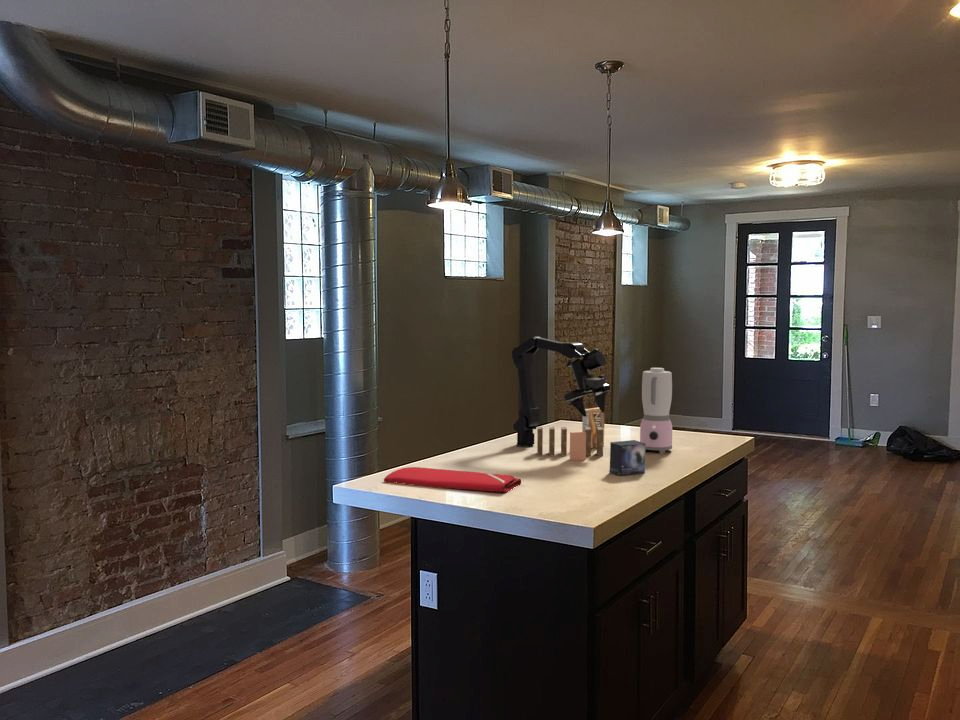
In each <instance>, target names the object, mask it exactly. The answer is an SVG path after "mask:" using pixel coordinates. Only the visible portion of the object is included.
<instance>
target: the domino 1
mask: <svg viewBox="0 0 960 720" xmlns="http://www.w3.org/2000/svg"><path fill="white" fill-rule="evenodd" d="M536 430H537V431H536V432H537V434H536V435H537V446H536V447H537V448H536V449H537V450H536V451H537V456H543V448H544V447H543V444H544V443H543V442H544V440H543V438H544V437H543V432H544V431H543V426H537V428H536Z"/></svg>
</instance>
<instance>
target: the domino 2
mask: <svg viewBox="0 0 960 720" xmlns="http://www.w3.org/2000/svg"><path fill="white" fill-rule="evenodd" d="M555 429H556V428H555V427H554V426H549V429H548V430H549V431H548V433H549V434H548V435H549V436H548V437H549V439H548V455H549V454H550V455H556V454H555V451H556V449H555V444H556V443H555V442H556V439H555V438H556V437H555V435H556V434H555V432H556V431H555ZM550 455H549V456H550Z"/></svg>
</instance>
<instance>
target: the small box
mask: <svg viewBox="0 0 960 720" xmlns="http://www.w3.org/2000/svg"><path fill="white" fill-rule="evenodd" d="M609 446H610V449H609V451H610V452H609V471H608V472H609V474H613V475H615V476H620V477H623V475H624V476H630V475H639V474H646V452H645V446H646V443H643V442H640V440H639V441H638V440H636V439H631V440H630V439H629V440H621V441H620V440H619V441H610V445H609Z"/></svg>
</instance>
